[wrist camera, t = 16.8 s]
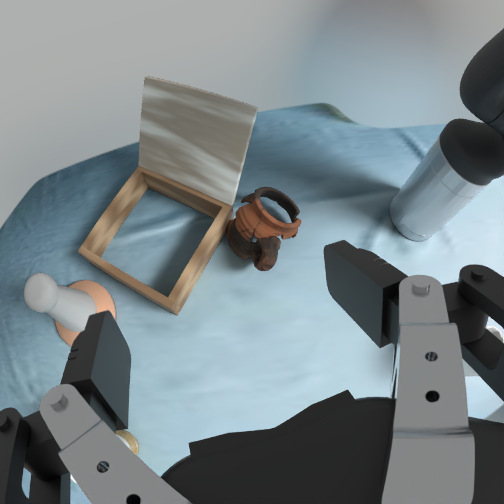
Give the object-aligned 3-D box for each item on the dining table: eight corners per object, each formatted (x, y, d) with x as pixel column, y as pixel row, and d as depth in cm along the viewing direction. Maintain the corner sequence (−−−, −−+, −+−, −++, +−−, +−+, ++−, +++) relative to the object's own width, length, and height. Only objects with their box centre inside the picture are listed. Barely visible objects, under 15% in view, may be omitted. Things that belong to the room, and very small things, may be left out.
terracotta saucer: (79, 270, 43) (76, 268, 42) (128, 303, 41) (126, 301, 40) (48, 325, 39) (44, 324, 38) (95, 363, 38) (92, 363, 37)
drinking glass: (443, 388, 38) (485, 385, 29) (427, 353, 40) (467, 344, 31) (469, 363, 39) (511, 356, 30) (454, 330, 41) (494, 316, 32)
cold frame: (168, 153, 51) (148, 74, 35) (252, 188, 49) (258, 105, 33) (90, 262, 43) (30, 205, 27) (177, 315, 41) (139, 275, 25)
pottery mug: (219, 213, 48) (243, 174, 42) (272, 227, 52) (300, 193, 46) (225, 282, 40) (256, 243, 35) (287, 291, 45) (322, 259, 39)
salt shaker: (64, 303, 39) (12, 275, 27) (95, 288, 41) (49, 254, 29) (75, 341, 38) (21, 323, 26) (108, 325, 39) (60, 303, 27)
